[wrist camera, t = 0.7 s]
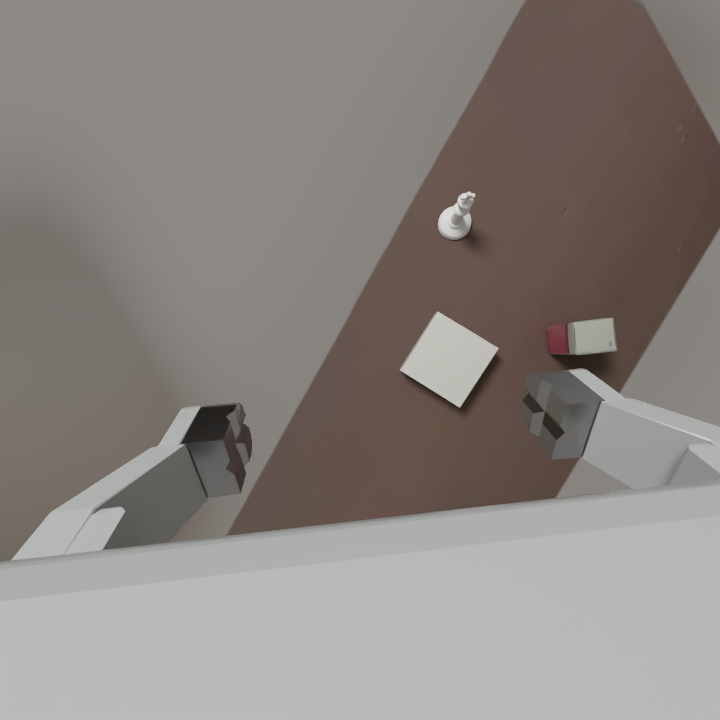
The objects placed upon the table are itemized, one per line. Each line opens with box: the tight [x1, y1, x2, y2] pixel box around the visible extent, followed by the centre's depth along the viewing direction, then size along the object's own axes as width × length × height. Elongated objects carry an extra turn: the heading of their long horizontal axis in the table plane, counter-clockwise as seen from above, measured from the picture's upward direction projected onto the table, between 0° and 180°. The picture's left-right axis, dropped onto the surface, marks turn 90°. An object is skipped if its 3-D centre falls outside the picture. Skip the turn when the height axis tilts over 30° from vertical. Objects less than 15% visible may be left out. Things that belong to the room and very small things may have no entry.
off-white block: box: [400, 312, 499, 408], centre depth 51 cm, size 10×10×4 cm
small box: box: [547, 318, 617, 355], centre depth 47 cm, size 5×4×8 cm
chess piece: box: [438, 192, 475, 240], centre depth 47 cm, size 5×5×10 cm
